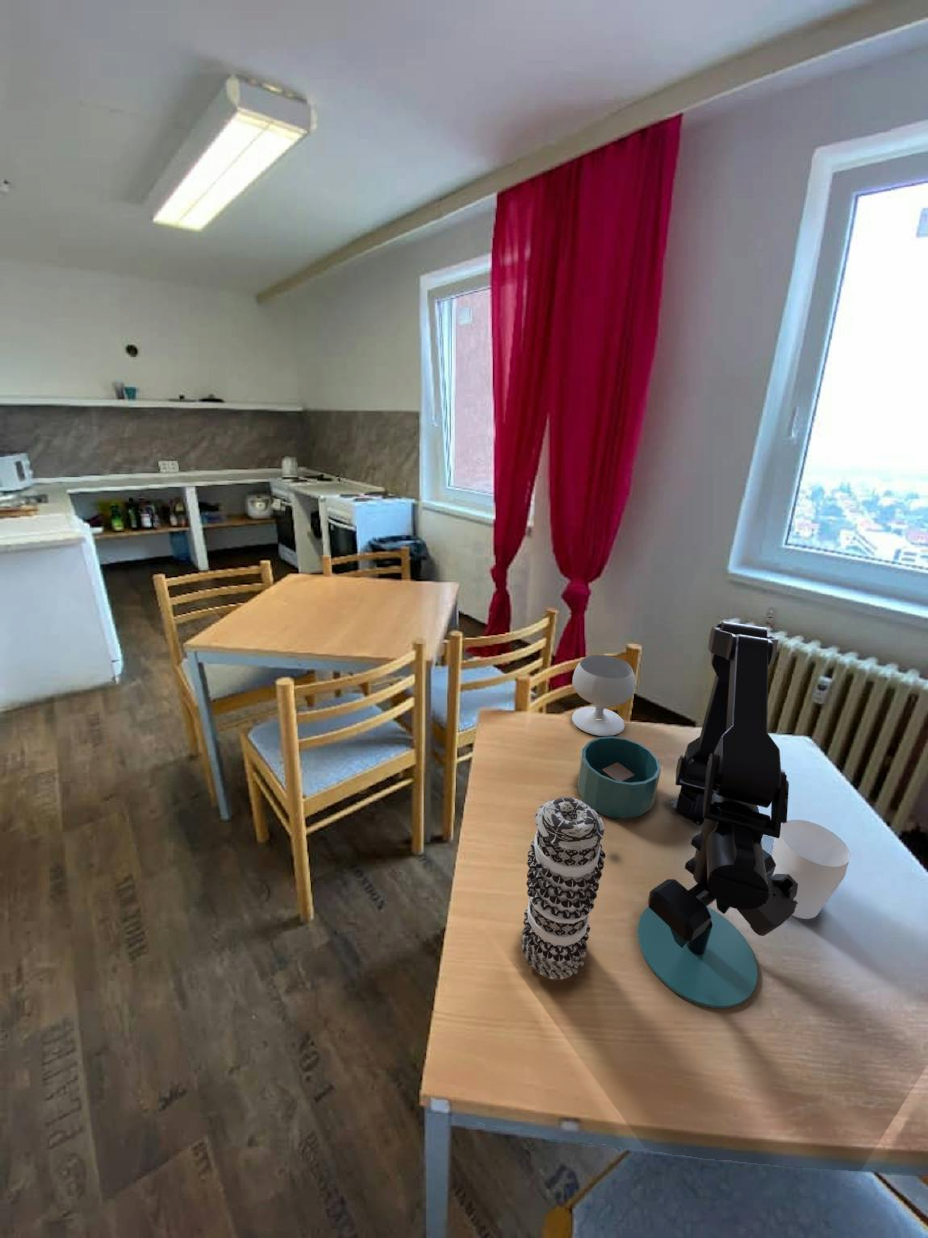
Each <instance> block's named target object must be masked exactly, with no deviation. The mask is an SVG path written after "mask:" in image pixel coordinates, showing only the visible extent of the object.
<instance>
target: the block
mask: <svg viewBox="0 0 928 1238" xmlns="http://www.w3.org/2000/svg"><path fill="white" fill-rule="evenodd" d="M601 775H603V776H605V777H608V778H610V779H613V780H615V781H622V782H628V783H633V782H634V778H635V774H633V773H632V772H631V771H629V770H628V769H626V768H625V767H624V766H622V765H621V764H619V763H618V762H617V763H615V764H613V765H610V766H608V767H606V768H604V769H602V771H601Z"/></svg>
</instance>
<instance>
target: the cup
mask: <svg viewBox="0 0 928 1238" xmlns="http://www.w3.org/2000/svg"><path fill="white" fill-rule="evenodd" d="M771 856H772V858H773V860H774V862H775V864H776V867H775V870H774V873H773V875H775V874H789V875H790V876H791V877H792V878H793V879H794V880H795V881H796V882H797V884H798V889H797V894H796V897H794V899H793V900H796V901H797V902H798V904H797V905H796V908H795V912H794V913H793V914H792V915H791V917H795V918H798V919H802V920H810V919H814V918H815V917H817V916H818V915H819V913H820V912H821V911H822V909H823V908H824V907H825V905H826V904H827V903H828V901H829V900H830V898H831V897H832V895H833V894H834V893H835V891H836V890H837V889H838V887H839V886H840V884H841V883H842V882H843V880H844V879H845V877H846V874H847V869H848V866H849V863H850V860H851V852H850V850H849V848H848V846H847V844H846V843H845V842H844V841H843V840H842V838H840V837H839V836H838V835H837V834H835V833H834V832H832V831H831V830H830V829H828V828H826V827H824V826H823V825H820V824H818V823H814V822H811V821H808V820H803V819H789V820H787V823H784V824H783V823H781V830H780V837H779V838H775V837H774V841H773V845H772V853H771ZM773 875H772V876H773Z"/></svg>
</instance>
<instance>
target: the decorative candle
mask: <svg viewBox="0 0 928 1238" xmlns="http://www.w3.org/2000/svg"><path fill="white" fill-rule="evenodd" d="M534 820H535V826H536V832H535V834H534V839H533V841H532V842H531V843H530V846H529V847H530V848H529V849H530V850H529V851H528V852H527V858H528V859H527V861H526V865H527V867H528V868H529V869H528V870H527V874H526V877H527V880H526V881H525V882H526V883H525V884H526V887H527V891H526V893H527V896H528V902H527V909H526V910H524V912H523V916H524V917H525V918H524V919H523V925H524V926H523V928H522V929H521V930H522V931H521V933H522V934H521V935H522V936H521V943H522V945H521V952H522V954H524V956H525V960H526V962H527V964H528V965H530V966H531V967H532V969H533V970H534V971H535V973H538V974H539V975H541V976H543V977H544V978H547V979H551V980H557V981H559V980H563V979H564V980H565V979H567V980H568V979H570V978H571V976H572V975H573V974H574V975H577V974H578V973H579V969H578V968H579V967H584V965H585V963H584V961H583V960H582V959H585V958H586V956H587V952H586V951H584V950H586V949H588V944H587V941H588V940H589V938H590V936H589V932H590V931H591V926H590V925H589V918H590V913H591V912H592V911H593V909H594V908H595V900H596V899H597V897H598V895H597V894H598V893H597V892H598V891H599V888H600V882H599V881H600V880H601V878H602V877H603V872H602V871H603V869H604V867H605V861H604V859H606V853H605V851H604V850H603V845H602V843H601V840H602V839H603V837H604V833H605V826H604V822H603V819H602V817H601V815H599V813H598V812H597V811H595V810H593V809H592V808H591V807H589V806H588V805H587V804H586V803H585V802H584V801H583V800H581V799H577V798H574V797H563V796H562V797H559V798H555V799H552V800H548V801H546V802H544V803H543V804H542V805H540V806H539V807H538V809H537V811H536V813H535V815H534Z"/></svg>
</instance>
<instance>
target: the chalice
mask: <svg viewBox="0 0 928 1238" xmlns="http://www.w3.org/2000/svg"><path fill="white" fill-rule="evenodd" d="M571 683H572V687H573V689H574V691H575V692H576V693H577V695H578V696H579V697H580V698H582V699H583V700H584V701H586V702H588V703H590V704H593V706H583V707H581V708H578V709H577V710H575V711H574V712H573V713H572V716H571V720H572V722H573V725H575V726H576V727H577V728H578V729H580V730H581V731H583V732H585V733H587V734H591V735H595V736H599V737H609V736H615V735H618V734H620V733H621V732H623V731H624V729H625V726H626V725H625V722H624V719H623V718H622V717H621V716H620V715H619V714H617V713H616V712H614V711H613V710H610V709H608V708H607V707H615V706H619V705H622V704H625V703H626V702H628V701H629V700H630V699H632V697H633V695H634V694H635V692H636V676H635V672H634V670H633V668H632V666H631V664H630V663H628V662H627V661H625V660H623V659H621V658H619V657H616V656H613V655H606V654H593V655H592V654H591V655H588V656H585V657H583V658H582V659H581V660H580V661H579V662H578V664H577V665H576V667H575V669H574V671H573V675H572V681H571ZM596 719H602V720H596ZM606 721H607V722H606ZM610 721H611V722H610Z"/></svg>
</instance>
